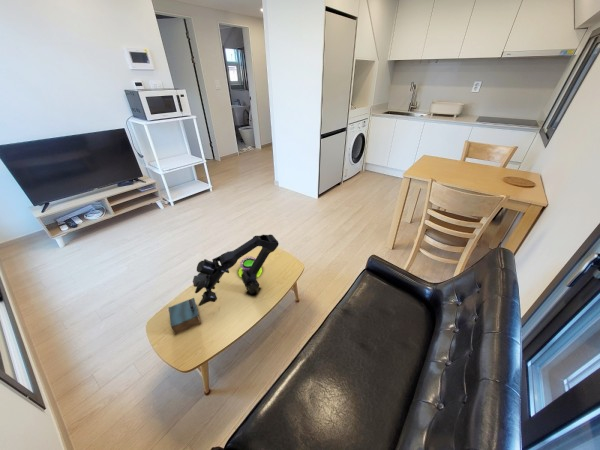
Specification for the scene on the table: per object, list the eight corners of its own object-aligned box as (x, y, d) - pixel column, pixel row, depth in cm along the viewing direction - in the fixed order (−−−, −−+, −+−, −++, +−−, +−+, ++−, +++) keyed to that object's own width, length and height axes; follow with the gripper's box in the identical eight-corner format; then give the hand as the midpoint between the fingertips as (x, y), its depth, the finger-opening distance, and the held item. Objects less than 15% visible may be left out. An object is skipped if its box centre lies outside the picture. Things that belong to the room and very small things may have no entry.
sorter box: (195, 306, 131) (193, 299, 128) (200, 323, 122) (197, 316, 119) (172, 315, 126) (168, 308, 123) (175, 334, 117) (171, 327, 114)
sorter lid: (194, 298, 128) (192, 293, 126) (198, 315, 119) (196, 310, 117) (168, 308, 123) (166, 303, 120) (171, 327, 114) (168, 322, 111)
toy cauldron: (253, 260, 162) (251, 247, 156) (266, 271, 153) (265, 258, 147) (234, 270, 154) (231, 258, 148) (246, 283, 145) (244, 270, 139)
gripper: (196, 260, 121) (179, 283, 123) (204, 284, 108) (185, 310, 109) (215, 266, 129) (199, 288, 130) (225, 289, 115) (206, 313, 117)
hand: (197, 299), depth 121 cm, fingers open, 9 cm apart
